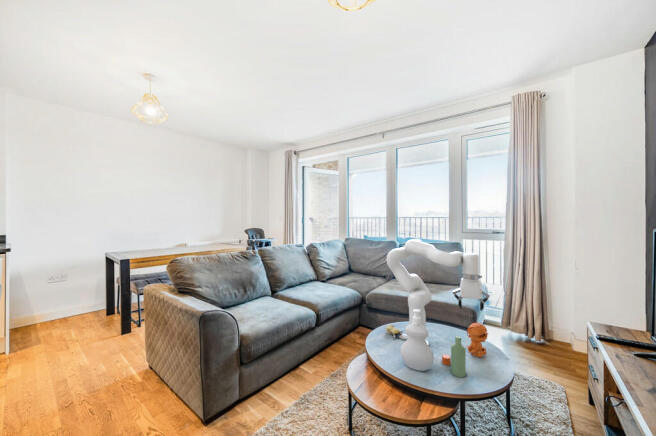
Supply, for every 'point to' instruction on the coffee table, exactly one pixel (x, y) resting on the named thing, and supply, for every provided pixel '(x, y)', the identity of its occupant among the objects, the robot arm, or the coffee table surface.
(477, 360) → the coffee table surface
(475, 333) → the orange sculpture
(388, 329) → the figurine
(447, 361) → the cap
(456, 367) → the bottle
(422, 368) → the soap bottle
